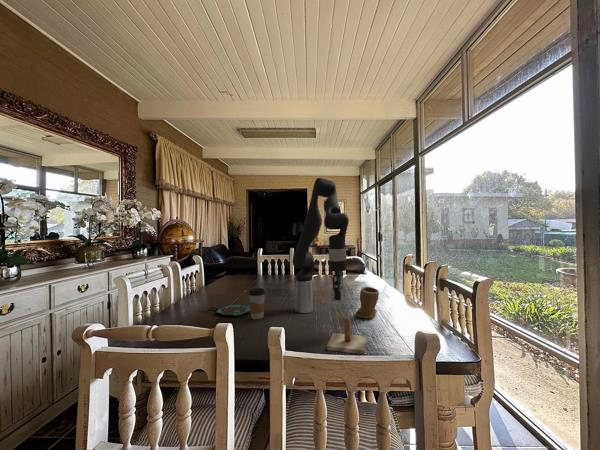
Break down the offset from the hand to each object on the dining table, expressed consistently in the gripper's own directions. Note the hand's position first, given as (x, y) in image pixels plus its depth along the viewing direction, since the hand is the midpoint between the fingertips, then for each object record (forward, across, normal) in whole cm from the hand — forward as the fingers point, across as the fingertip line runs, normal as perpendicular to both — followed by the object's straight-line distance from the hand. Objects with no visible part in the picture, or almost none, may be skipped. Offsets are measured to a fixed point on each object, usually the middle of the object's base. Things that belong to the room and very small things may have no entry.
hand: (338, 298), depth 124 cm
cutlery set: (+16, -21, -67) cm, 72 cm away
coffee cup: (+16, -14, -45) cm, 50 cm away
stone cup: (+16, -32, +10) cm, 37 cm away
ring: (+1, 0, 0) cm, 1 cm away
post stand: (+16, +8, +4) cm, 19 cm away
